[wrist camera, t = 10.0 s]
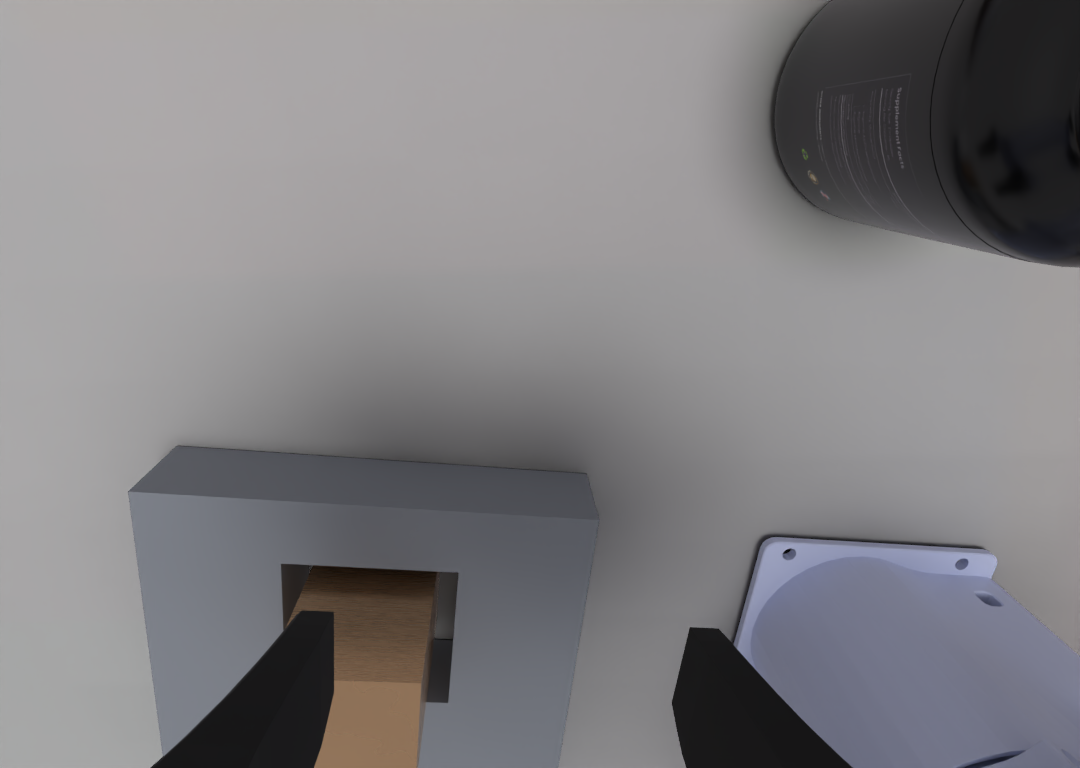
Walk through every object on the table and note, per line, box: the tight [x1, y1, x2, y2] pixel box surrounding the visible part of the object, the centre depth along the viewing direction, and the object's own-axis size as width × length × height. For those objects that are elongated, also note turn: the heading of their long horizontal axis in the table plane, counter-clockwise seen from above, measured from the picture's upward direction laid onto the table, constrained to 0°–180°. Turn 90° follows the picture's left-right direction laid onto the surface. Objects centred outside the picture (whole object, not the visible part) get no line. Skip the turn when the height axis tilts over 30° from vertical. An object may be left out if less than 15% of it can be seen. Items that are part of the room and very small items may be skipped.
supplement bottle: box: [774, 0, 1080, 267], centre depth 13 cm, size 7×7×12 cm
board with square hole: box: [128, 446, 599, 768], centre depth 21 cm, size 14×16×7 cm
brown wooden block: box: [286, 565, 440, 768], centre depth 20 cm, size 4×4×7 cm
